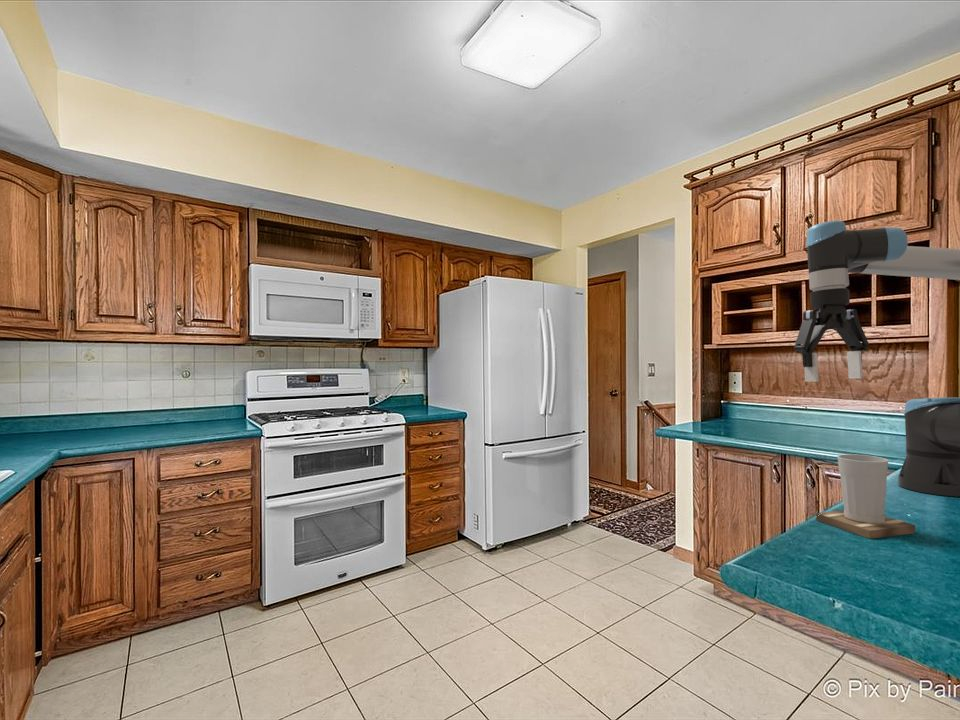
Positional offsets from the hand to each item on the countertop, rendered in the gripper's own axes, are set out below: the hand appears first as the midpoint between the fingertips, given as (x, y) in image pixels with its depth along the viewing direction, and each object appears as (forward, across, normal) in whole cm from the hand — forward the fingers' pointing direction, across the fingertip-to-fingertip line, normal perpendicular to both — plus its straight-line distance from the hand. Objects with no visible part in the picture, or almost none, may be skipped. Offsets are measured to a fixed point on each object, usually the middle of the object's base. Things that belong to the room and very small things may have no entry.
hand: (834, 380), depth 112 cm
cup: (+27, +12, +13) cm, 32 cm away
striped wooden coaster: (+28, +12, +13) cm, 33 cm away
